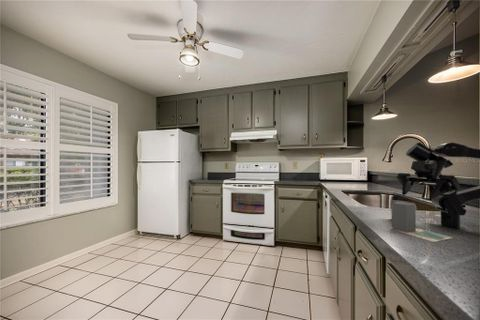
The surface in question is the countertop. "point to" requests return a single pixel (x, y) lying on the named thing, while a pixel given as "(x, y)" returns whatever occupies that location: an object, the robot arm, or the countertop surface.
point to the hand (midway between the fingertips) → (416, 196)
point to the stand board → (425, 234)
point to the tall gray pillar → (403, 216)
